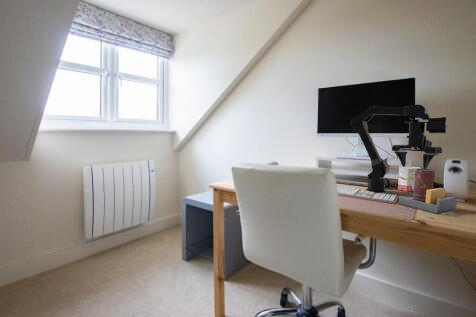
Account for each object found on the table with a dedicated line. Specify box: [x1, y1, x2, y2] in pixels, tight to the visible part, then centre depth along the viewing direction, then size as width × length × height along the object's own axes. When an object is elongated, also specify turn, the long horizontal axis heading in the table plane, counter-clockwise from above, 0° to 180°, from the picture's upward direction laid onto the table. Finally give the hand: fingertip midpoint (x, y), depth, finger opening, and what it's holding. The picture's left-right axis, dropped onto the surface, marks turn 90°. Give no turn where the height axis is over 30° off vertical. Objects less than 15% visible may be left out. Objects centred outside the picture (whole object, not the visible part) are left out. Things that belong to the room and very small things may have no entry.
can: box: [412, 168, 436, 203], centre depth 102 cm, size 6×6×14 cm
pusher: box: [426, 187, 446, 205], centre depth 97 cm, size 2×9×7 cm, turn 114°
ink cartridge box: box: [397, 160, 421, 193], centre depth 127 cm, size 9×5×15 cm, turn 111°
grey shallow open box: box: [398, 196, 457, 215], centre depth 100 cm, size 14×12×5 cm
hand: (414, 168), depth 115 cm, fingers open, 9 cm apart
